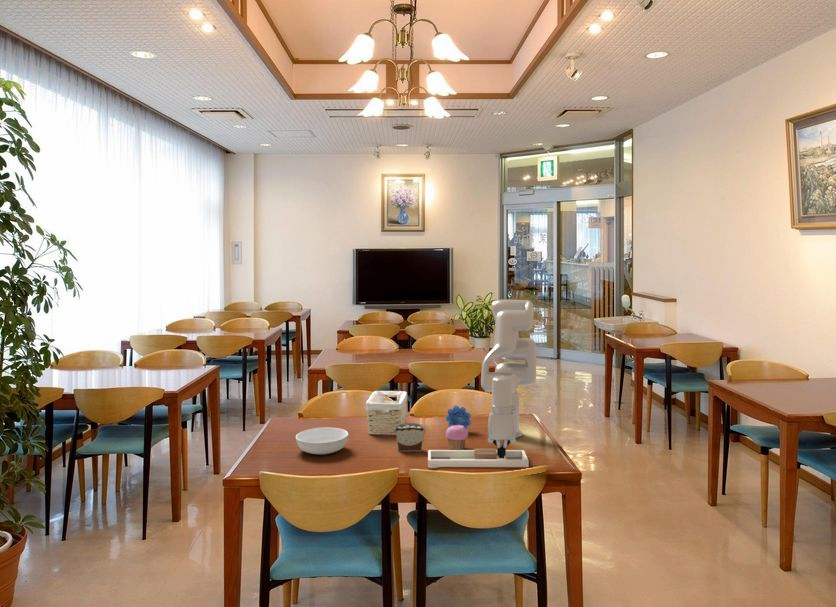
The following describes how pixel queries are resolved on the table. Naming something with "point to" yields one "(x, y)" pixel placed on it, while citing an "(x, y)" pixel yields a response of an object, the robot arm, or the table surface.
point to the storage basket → (386, 412)
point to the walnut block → (485, 454)
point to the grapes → (458, 417)
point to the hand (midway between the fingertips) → (501, 457)
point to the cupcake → (456, 437)
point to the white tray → (467, 459)
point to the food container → (409, 436)
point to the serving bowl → (322, 440)
